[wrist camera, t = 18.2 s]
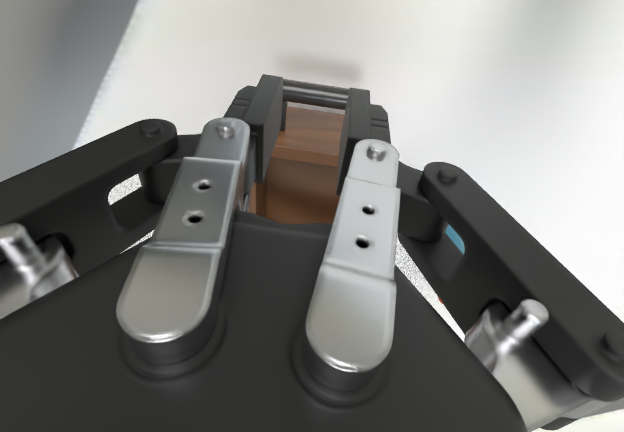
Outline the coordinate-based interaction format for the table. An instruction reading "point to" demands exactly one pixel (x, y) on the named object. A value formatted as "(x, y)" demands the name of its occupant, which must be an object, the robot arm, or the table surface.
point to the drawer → (303, 158)
